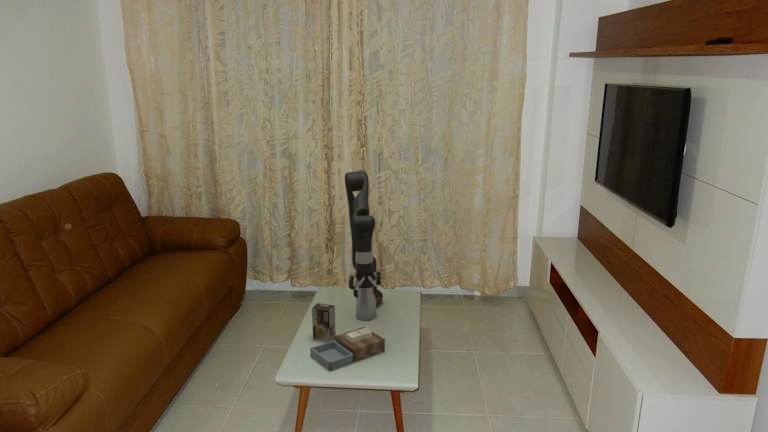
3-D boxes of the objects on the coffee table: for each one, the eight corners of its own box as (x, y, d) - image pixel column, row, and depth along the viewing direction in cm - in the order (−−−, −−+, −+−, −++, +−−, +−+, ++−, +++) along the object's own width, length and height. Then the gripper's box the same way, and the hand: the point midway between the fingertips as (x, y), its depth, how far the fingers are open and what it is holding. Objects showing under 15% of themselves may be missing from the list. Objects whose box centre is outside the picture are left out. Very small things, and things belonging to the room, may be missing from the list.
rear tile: (365, 332, 256) (365, 327, 255) (372, 336, 252) (372, 331, 251) (356, 335, 253) (356, 330, 252) (362, 339, 249) (362, 334, 248)
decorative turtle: (377, 296, 312) (378, 283, 310) (386, 309, 299) (387, 295, 296) (360, 298, 309) (361, 284, 307) (368, 310, 296) (369, 296, 293)
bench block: (364, 338, 263) (364, 326, 262) (384, 351, 251) (384, 339, 249) (334, 348, 254) (334, 335, 252) (354, 362, 242) (354, 349, 240)
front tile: (355, 335, 253) (355, 330, 252) (361, 340, 249) (361, 334, 248) (346, 338, 250) (346, 333, 249) (352, 343, 246) (352, 337, 245)
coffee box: (336, 337, 265) (335, 305, 261) (330, 343, 259) (329, 310, 255) (318, 334, 268) (317, 302, 264) (312, 340, 262) (311, 307, 258)
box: (334, 348, 254) (333, 340, 253) (353, 362, 241) (353, 354, 240) (310, 356, 247) (310, 347, 246) (329, 371, 234) (329, 362, 233)
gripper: (376, 256, 251) (377, 290, 255) (345, 260, 246) (347, 295, 249) (382, 260, 245) (383, 296, 248) (351, 265, 239) (353, 301, 243)
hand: (365, 295), depth 249 cm, fingers open, 8 cm apart
